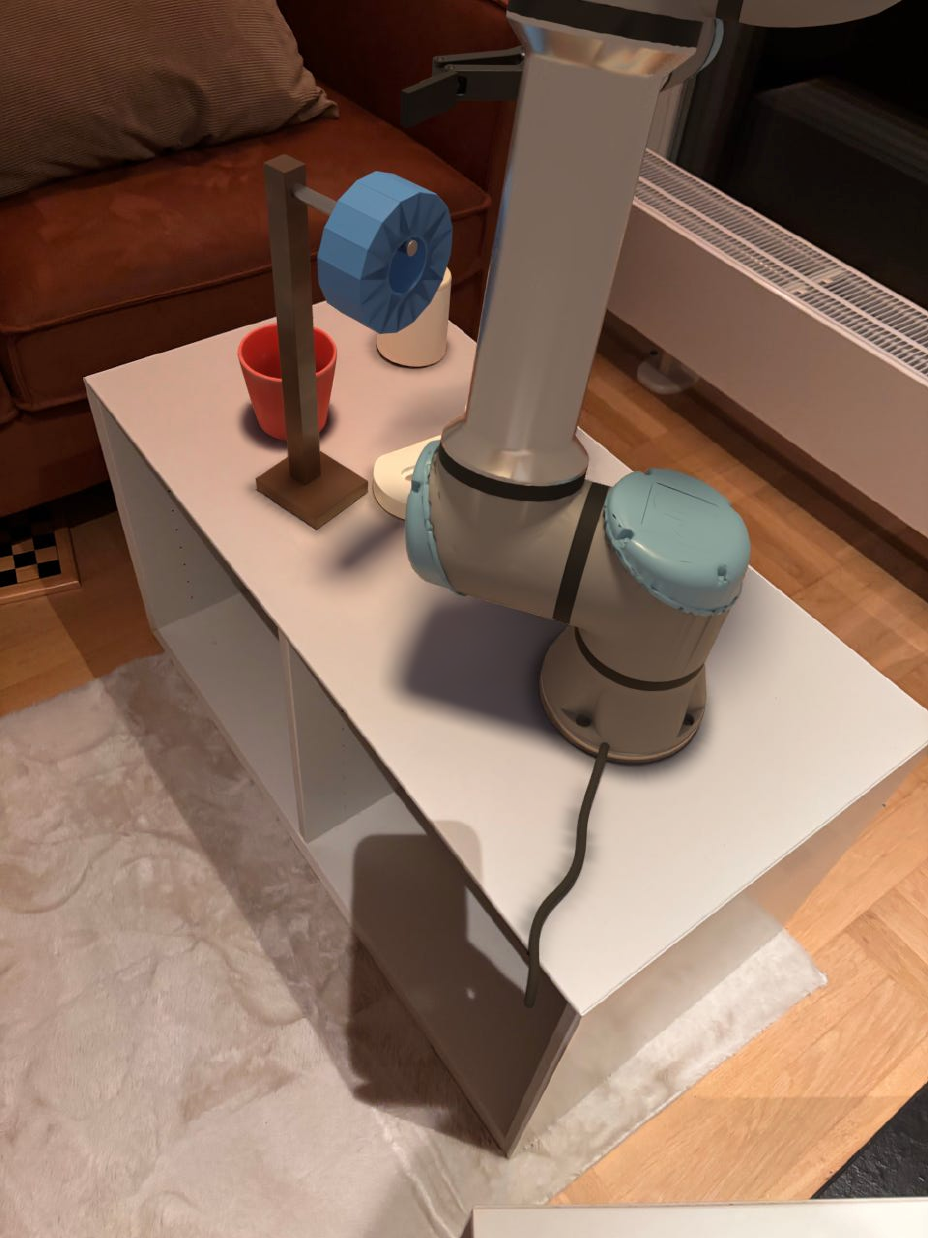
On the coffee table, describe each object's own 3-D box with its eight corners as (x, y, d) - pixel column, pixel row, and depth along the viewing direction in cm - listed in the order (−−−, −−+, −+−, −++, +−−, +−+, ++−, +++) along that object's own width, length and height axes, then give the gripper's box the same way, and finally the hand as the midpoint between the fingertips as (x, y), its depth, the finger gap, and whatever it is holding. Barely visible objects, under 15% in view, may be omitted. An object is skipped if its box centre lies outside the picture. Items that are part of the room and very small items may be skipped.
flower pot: (357, 414, 110) (357, 343, 102) (301, 463, 103) (295, 392, 96) (286, 380, 112) (280, 309, 105) (226, 427, 106) (215, 355, 99)
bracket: (507, 426, 110) (514, 379, 105) (550, 470, 106) (560, 423, 101) (359, 479, 102) (359, 431, 97) (399, 528, 98) (401, 481, 93)
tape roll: (447, 301, 80) (457, 172, 71) (360, 355, 74) (359, 222, 65) (408, 281, 81) (413, 153, 73) (320, 332, 75) (314, 199, 67)
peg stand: (425, 527, 98) (447, 208, 72) (374, 568, 94) (377, 244, 67) (308, 453, 104) (289, 133, 78) (256, 489, 100) (216, 163, 73)
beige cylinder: (370, 278, 108) (366, 354, 116) (443, 298, 108) (434, 373, 115) (400, 238, 116) (394, 312, 123) (468, 256, 115) (458, 329, 123)
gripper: (719, 157, 83) (590, 241, 72) (499, 70, 92) (353, 133, 81) (745, 66, 78) (609, 142, 66) (508, -18, 86) (352, 37, 75)
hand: (468, 137), depth 73 cm, fingers open, 13 cm apart
